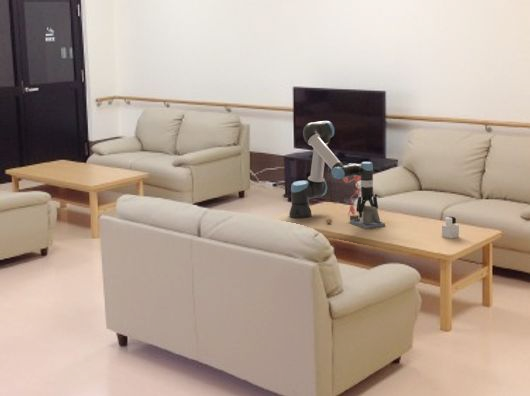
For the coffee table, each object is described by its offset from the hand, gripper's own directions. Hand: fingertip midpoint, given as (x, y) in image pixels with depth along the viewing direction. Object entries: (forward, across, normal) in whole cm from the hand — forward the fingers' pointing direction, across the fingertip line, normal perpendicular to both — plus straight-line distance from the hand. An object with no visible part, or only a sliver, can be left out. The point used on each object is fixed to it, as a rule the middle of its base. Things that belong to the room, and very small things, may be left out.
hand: (367, 221), depth 504 cm
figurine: (+3, +13, +27) cm, 30 cm away
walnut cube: (+3, -1, +13) cm, 13 cm away
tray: (+2, 0, 0) cm, 2 cm away
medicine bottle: (+3, +23, -53) cm, 58 cm away
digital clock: (+1, +1, 0) cm, 1 cm away
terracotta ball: (+2, -18, +17) cm, 25 cm away
